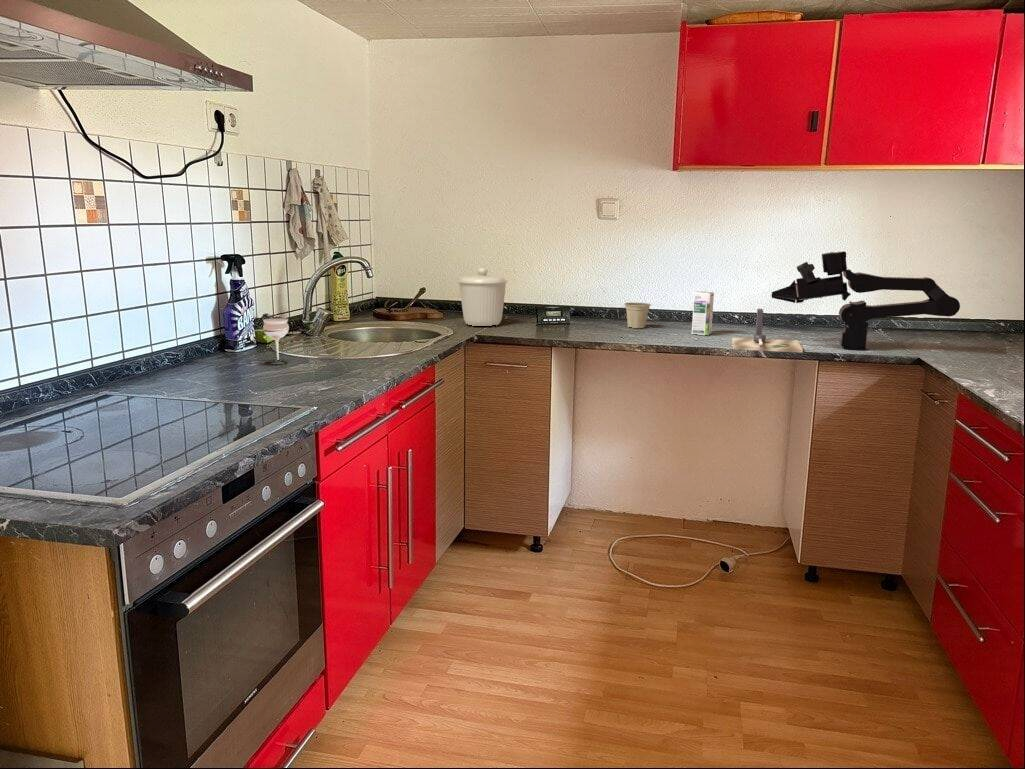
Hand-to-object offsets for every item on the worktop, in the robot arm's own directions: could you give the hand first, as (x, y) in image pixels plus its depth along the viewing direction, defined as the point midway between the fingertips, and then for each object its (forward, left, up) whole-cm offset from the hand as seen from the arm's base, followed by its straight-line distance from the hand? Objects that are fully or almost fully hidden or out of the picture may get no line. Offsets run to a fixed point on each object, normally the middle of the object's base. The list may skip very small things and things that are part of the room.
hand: (771, 295), depth 241 cm
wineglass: (+132, +70, -16) cm, 150 cm away
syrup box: (+21, -15, -16) cm, 30 cm away
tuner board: (+1, +4, -16) cm, 16 cm away
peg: (+3, +3, -14) cm, 15 cm away
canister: (+99, -14, -16) cm, 101 cm away
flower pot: (+44, -24, -16) cm, 53 cm away
